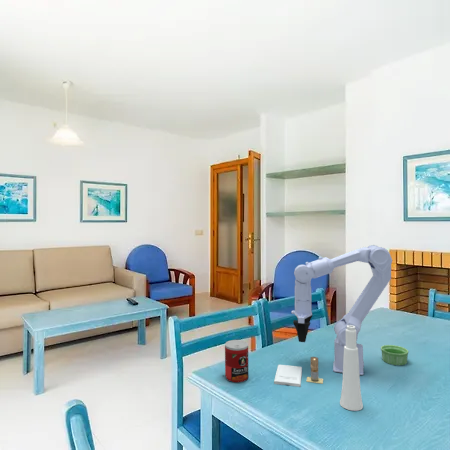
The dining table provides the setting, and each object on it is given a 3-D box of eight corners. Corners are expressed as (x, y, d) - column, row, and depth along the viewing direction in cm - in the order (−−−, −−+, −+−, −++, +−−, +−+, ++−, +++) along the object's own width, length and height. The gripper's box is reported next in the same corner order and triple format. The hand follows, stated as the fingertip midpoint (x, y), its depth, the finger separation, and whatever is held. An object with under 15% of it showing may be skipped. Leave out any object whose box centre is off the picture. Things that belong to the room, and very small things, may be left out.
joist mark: (323, 379, 111) (323, 378, 111) (322, 383, 108) (322, 383, 108) (307, 377, 112) (307, 376, 112) (306, 381, 109) (306, 380, 109)
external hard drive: (302, 371, 118) (300, 388, 106) (278, 368, 120) (273, 385, 108) (302, 366, 118) (300, 383, 106) (278, 364, 120) (273, 380, 108)
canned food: (232, 385, 107) (232, 350, 107) (220, 374, 115) (220, 342, 114) (253, 379, 111) (253, 345, 111) (240, 370, 118) (240, 338, 118)
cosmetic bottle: (342, 397, 99) (341, 321, 99) (364, 402, 96) (364, 324, 96) (337, 407, 94) (337, 327, 94) (361, 413, 91) (360, 330, 91)
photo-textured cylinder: (318, 378, 111) (318, 357, 111) (318, 382, 108) (318, 360, 108) (311, 377, 111) (310, 356, 111) (310, 381, 109) (310, 359, 109)
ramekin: (411, 360, 125) (411, 348, 125) (404, 368, 118) (404, 356, 118) (385, 354, 131) (385, 342, 131) (377, 361, 124) (377, 349, 124)
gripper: (293, 294, 129) (294, 330, 129) (288, 303, 115) (288, 343, 115) (313, 295, 126) (313, 332, 127) (310, 304, 113) (310, 346, 113)
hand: (303, 338), depth 121 cm, fingers open, 7 cm apart
